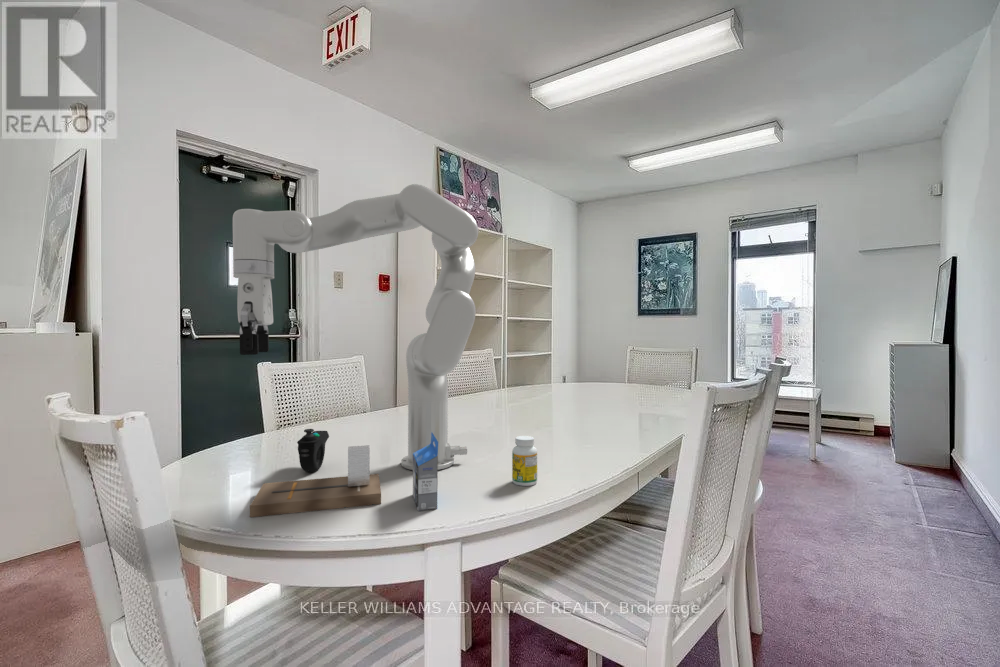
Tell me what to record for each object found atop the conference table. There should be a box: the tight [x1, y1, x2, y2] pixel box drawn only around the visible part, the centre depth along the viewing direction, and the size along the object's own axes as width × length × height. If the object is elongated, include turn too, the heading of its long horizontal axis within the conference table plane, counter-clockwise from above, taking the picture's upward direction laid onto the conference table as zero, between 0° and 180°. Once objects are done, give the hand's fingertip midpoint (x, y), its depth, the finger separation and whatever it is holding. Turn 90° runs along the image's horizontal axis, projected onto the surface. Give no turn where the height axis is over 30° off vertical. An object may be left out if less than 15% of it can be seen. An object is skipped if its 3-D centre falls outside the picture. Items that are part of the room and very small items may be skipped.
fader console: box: [249, 473, 382, 518], centre depth 89 cm, size 22×12×2 cm, turn 107°
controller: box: [296, 428, 330, 472], centre depth 107 cm, size 4×12×10 cm, turn 5°
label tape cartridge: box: [412, 432, 439, 512], centre depth 87 cm, size 9×4×12 cm, turn 17°
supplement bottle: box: [511, 435, 538, 487], centre depth 99 cm, size 5×5×10 cm
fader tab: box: [347, 445, 371, 487], centre depth 91 cm, size 4×3×7 cm
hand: (255, 353), depth 96 cm, fingers open, 9 cm apart
